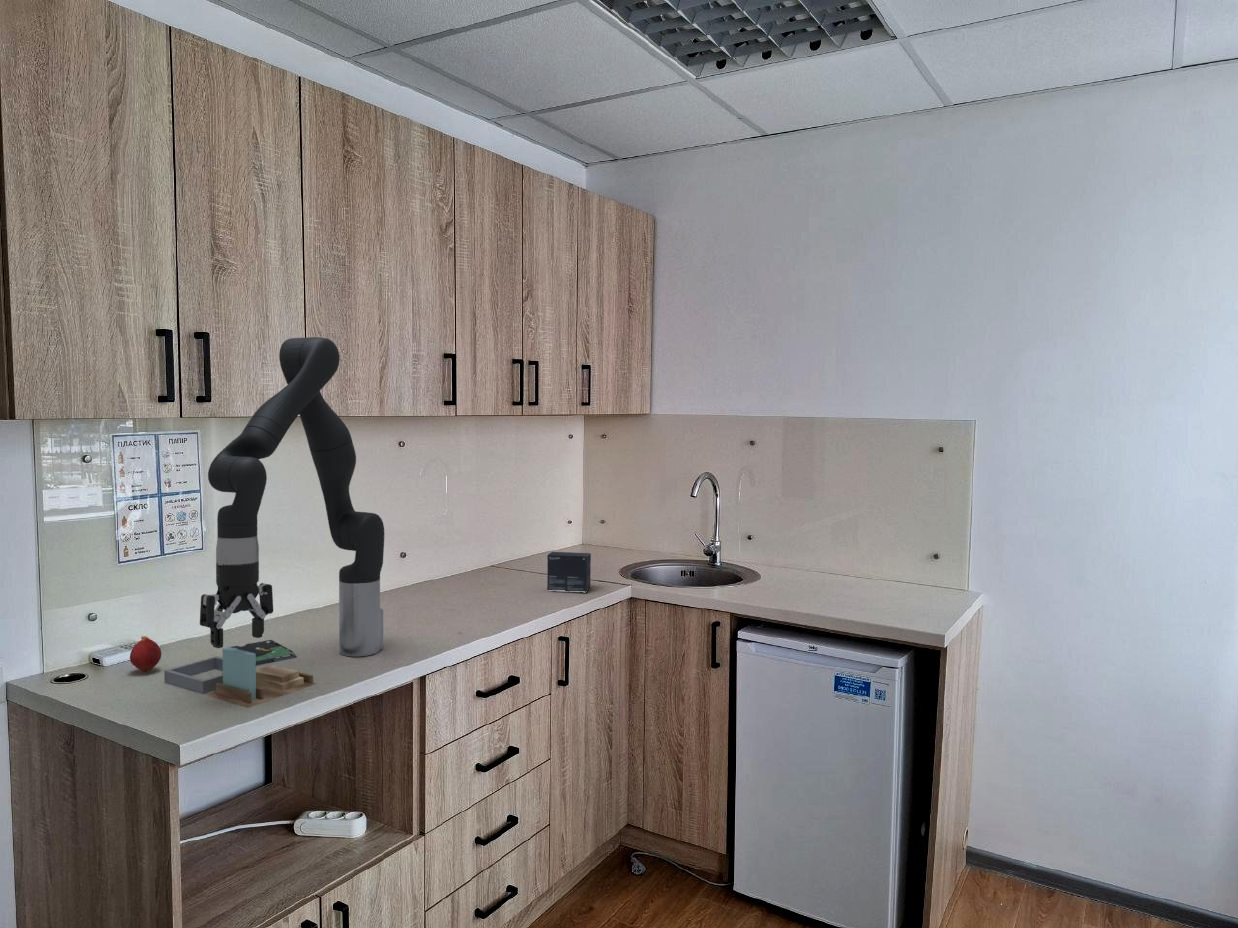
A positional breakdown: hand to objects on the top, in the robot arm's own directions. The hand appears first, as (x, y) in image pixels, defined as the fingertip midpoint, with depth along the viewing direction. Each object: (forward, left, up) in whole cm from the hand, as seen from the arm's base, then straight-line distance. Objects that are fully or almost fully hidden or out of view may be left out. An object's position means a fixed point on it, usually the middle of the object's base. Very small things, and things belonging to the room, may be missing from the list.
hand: (237, 642), depth 159 cm
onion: (-1, -33, -12) cm, 35 cm away
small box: (-118, 0, -12) cm, 119 cm away
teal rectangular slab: (0, 0, -11) cm, 11 cm away
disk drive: (-20, -20, -13) cm, 31 cm away
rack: (-5, 0, -12) cm, 13 cm away
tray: (-3, -14, -12) cm, 18 cm away
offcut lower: (-9, 0, -11) cm, 14 cm away
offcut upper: (-9, -1, -10) cm, 13 cm away
